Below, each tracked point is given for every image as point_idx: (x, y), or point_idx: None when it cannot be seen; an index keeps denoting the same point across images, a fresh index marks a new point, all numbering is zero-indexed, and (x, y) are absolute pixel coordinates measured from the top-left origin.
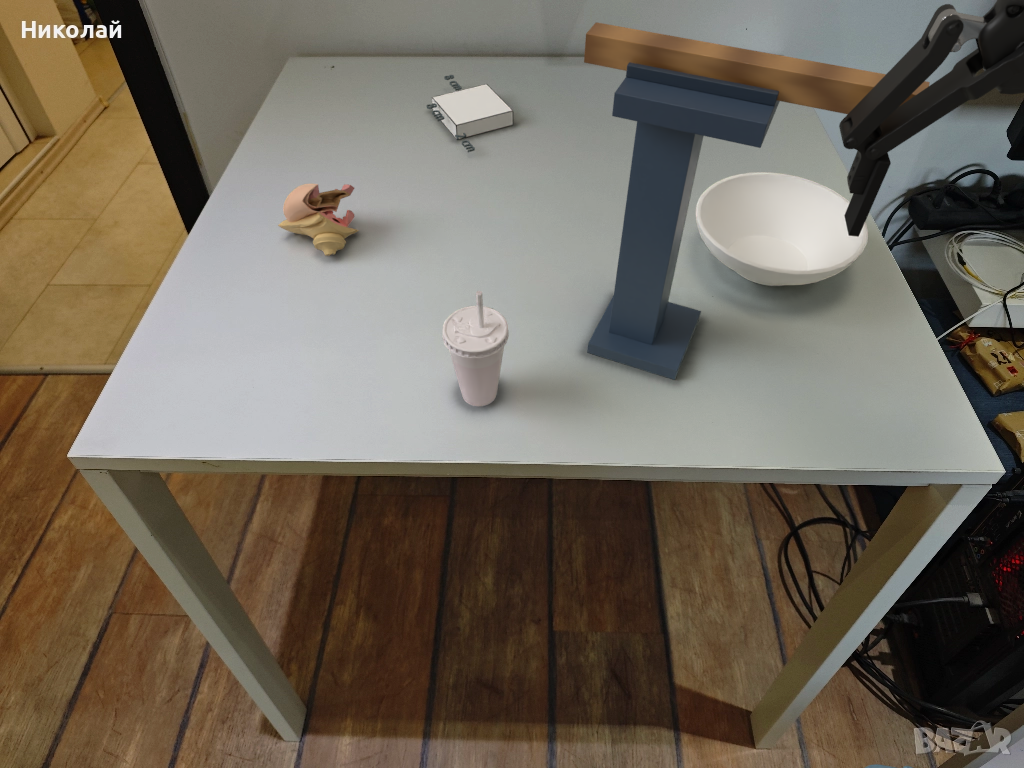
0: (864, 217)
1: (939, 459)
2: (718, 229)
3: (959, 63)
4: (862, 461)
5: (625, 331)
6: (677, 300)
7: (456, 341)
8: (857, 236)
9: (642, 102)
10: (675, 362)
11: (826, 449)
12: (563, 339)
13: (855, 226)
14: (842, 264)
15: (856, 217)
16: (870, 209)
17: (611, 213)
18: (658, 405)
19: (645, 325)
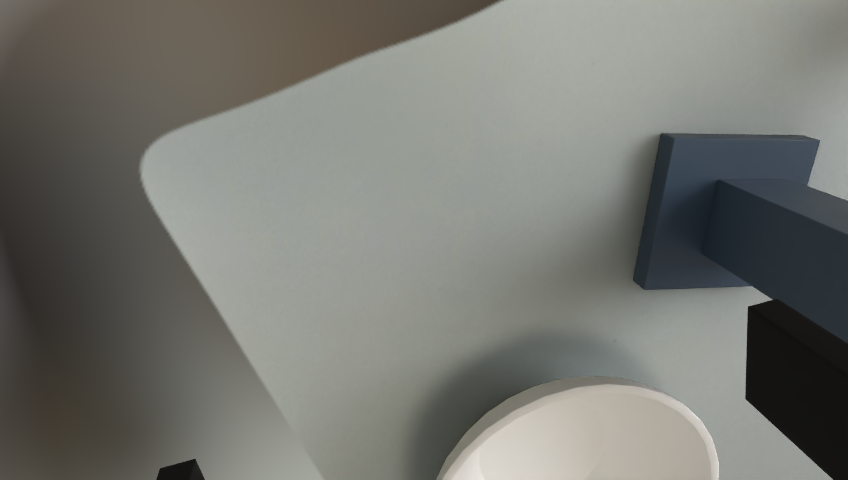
0: (812, 346)
1: (214, 135)
2: (642, 467)
3: None
4: (340, 76)
5: (773, 182)
6: (668, 309)
7: None
8: (750, 306)
9: None
10: (678, 156)
11: (402, 79)
12: (839, 149)
13: (797, 320)
14: (465, 454)
15: (835, 337)
16: (834, 369)
17: (779, 446)
18: (682, 65)
19: (763, 191)
